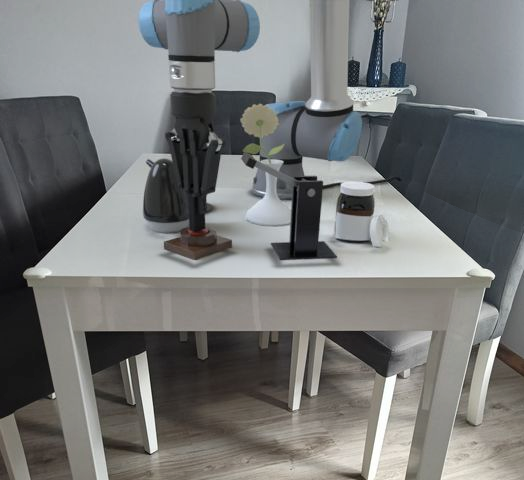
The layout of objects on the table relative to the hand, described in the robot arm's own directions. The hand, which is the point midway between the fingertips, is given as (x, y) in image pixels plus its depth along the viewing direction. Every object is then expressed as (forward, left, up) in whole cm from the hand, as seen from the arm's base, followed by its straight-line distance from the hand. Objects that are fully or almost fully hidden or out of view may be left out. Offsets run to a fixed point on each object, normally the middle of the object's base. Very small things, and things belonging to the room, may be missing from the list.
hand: (197, 229), depth 99 cm
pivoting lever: (-9, +12, +9) cm, 18 cm away
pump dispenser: (-5, -15, -5) cm, 16 cm away
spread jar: (-28, +19, -5) cm, 35 cm away
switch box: (0, 0, -5) cm, 5 cm away
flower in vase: (-25, -4, -5) cm, 26 cm away
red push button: (0, 0, -2) cm, 2 cm away
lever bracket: (-13, +15, -5) cm, 21 cm away
